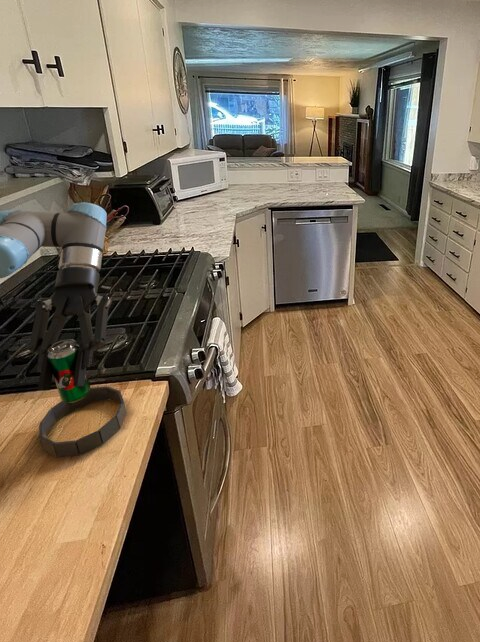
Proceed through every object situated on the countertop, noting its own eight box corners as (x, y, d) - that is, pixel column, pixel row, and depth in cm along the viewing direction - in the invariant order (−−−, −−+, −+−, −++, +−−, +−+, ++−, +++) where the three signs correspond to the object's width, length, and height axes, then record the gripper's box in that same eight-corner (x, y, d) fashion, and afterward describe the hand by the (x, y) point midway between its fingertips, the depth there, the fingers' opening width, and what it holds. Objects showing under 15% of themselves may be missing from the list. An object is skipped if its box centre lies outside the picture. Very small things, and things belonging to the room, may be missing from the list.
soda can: (96, 392, 73) (83, 343, 69) (68, 408, 69) (53, 358, 65) (83, 382, 76) (70, 334, 71) (56, 397, 72) (40, 348, 67)
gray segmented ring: (26, 441, 72) (21, 428, 70) (94, 391, 84) (91, 379, 83) (77, 468, 67) (72, 454, 65) (140, 410, 79) (138, 398, 78)
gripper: (131, 274, 81) (120, 382, 72) (41, 280, 78) (18, 394, 69) (119, 262, 75) (106, 380, 65) (20, 268, 71) (-9, 393, 62)
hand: (61, 387), depth 67 cm, fingers closed on soda can, 5 cm apart
